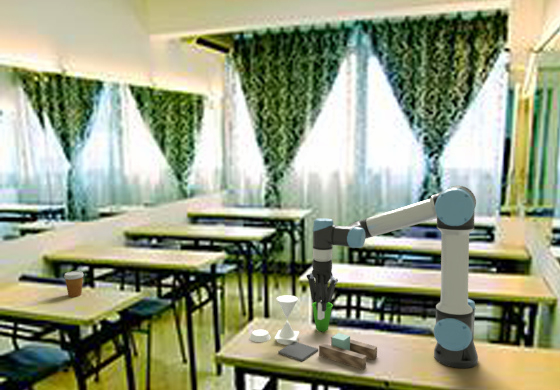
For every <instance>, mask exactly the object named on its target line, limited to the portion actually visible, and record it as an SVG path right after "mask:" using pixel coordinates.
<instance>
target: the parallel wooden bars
mask: <svg viewBox="0 0 560 390" xmlns="http://www.w3.org/2000/svg"><path fill="white" fill-rule="evenodd" d="M335 335H336V334H334V335H333V336H335ZM333 336H331V337H330V339H331V340H330V341H331V343H330V344H328V343H324V342H322V343H321V344H319V345H318V356H319V357H322V358H325V359H327V360H328V359H329V360H332V361H334V362H337V363H341V364H344V365H347V366H349V367H354V368H356V369H360V370H364V369H365V368H366V367H367V359H370V360H372V361H374V360H376V358H377V357H378V346H376V345H372V344H369V343H365V342H362V341H358V340H354V339H351V338H350V351H349V350H345V349H342V348H339V347H335V346H332V337H333Z"/></svg>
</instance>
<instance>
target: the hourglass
mask: <svg viewBox="0 0 560 390" xmlns="http://www.w3.org/2000/svg"><path fill="white" fill-rule="evenodd" d="M298 299H299V298H298V297H297V296H295V295H290V294H289V295H286V294H285V295H284V294H283V295H279V296H277V297H276V301H277V303H278V305H279V306H280V309H281V310H282V313H283V315H284V316H285V318H286V321H285V323H284V325H283V327H282V328H281V329H278V331H277V333H276V334H275V336H274V340H276V342H277V343H278V344H281V345H286V346H288V345H290V344H291V343H293V342H299V341H298V336H299V334H300V331H299V330H293V328H292V325H291V324H290V321H289V320H288V319H289V317H290V315H291V313H292V311H293V309H294V307H295V306H296V304H297V301H298ZM249 340H250V341H252V342H255V343H265V342H268V341H270V340H271V335H270V333H269V331H268V330H265V329H262V328H260V329H255V330H253V331H252V332H251V334H250V336H249Z"/></svg>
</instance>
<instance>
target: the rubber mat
mask: <svg viewBox="0 0 560 390" xmlns="http://www.w3.org/2000/svg"><path fill="white" fill-rule="evenodd" d="M317 352H319V347H314V346H311V345H308V344H304V343H301V342H299V341H297V342H293V343H291V344H290V345H286V346H284V347H283V348H281V349H279V350H277V353H278V355H279V354H280V355H283V356H285V357H288V358H291V359H295V360H297V361H300V362H303V361H305V360H306V359H308V358H310V357H311V356H313V355H314V354H315V353H317Z"/></svg>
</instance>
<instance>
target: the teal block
mask: <svg viewBox="0 0 560 390" xmlns="http://www.w3.org/2000/svg"><path fill="white" fill-rule="evenodd" d="M334 335H335V336H334ZM334 335H333V336H331V337H332V346H335V347H339V348H342V349H345V350H349V351H350V339H351V335H348V334H344V333H340V332H337V333H336V334H334Z"/></svg>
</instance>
